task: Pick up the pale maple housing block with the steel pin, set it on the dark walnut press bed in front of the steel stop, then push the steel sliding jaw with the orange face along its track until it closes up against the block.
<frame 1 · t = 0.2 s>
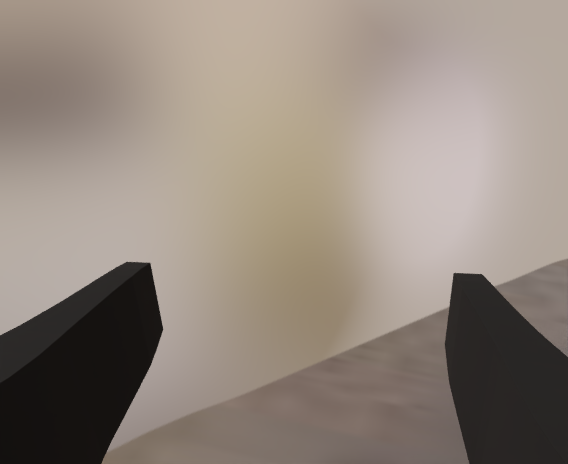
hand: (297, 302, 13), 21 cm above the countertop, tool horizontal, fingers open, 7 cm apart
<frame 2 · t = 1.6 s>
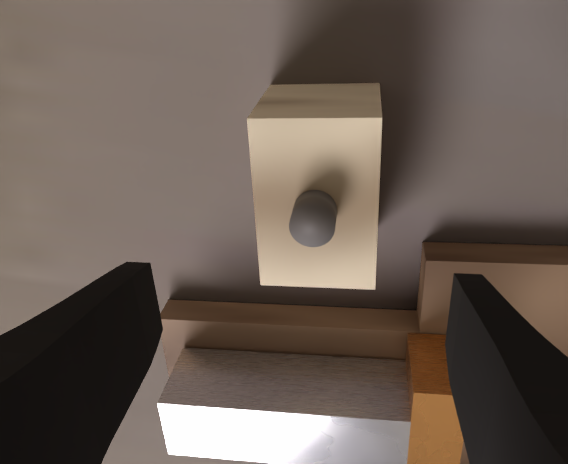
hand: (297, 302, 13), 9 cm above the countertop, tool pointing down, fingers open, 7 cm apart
housing: (325, 160, 21), on the countertop
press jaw: (310, 408, 23), point 3 cm above the countertop, slide at 0.0 cm
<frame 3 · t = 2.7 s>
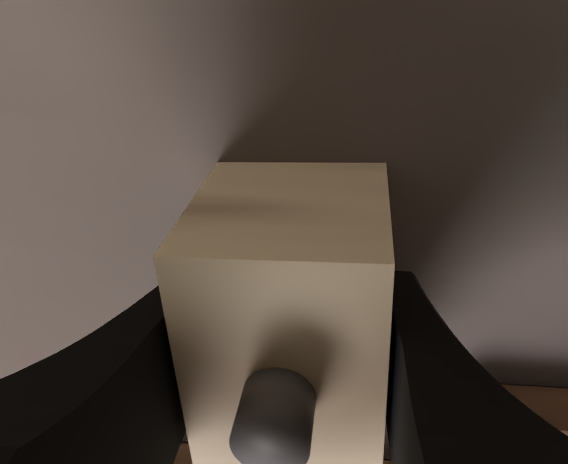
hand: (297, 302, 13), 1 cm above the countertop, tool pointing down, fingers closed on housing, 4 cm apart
housing: (304, 268, 14), on the countertop, touching gripper
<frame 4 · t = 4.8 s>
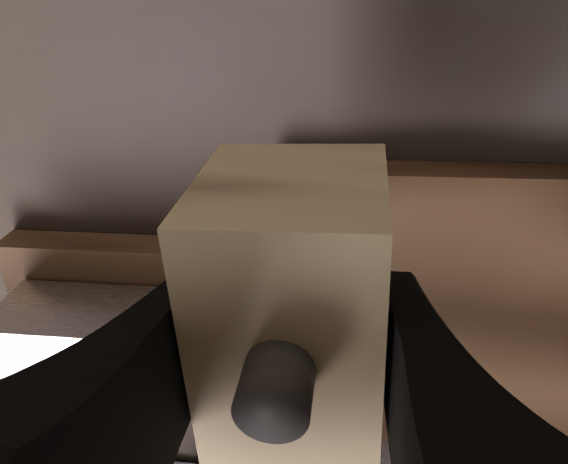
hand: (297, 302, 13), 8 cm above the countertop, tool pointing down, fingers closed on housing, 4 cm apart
press bed: (492, 311, 22), on the countertop
housing: (304, 251, 14), point 6 cm above the countertop, touching gripper
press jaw: (150, 342, 21), point 3 cm above the countertop, slide at 0.0 cm
when the fingers open (3 cm above the countertop, at t = 6.8 s): housing stays where it is, resting on press bed.
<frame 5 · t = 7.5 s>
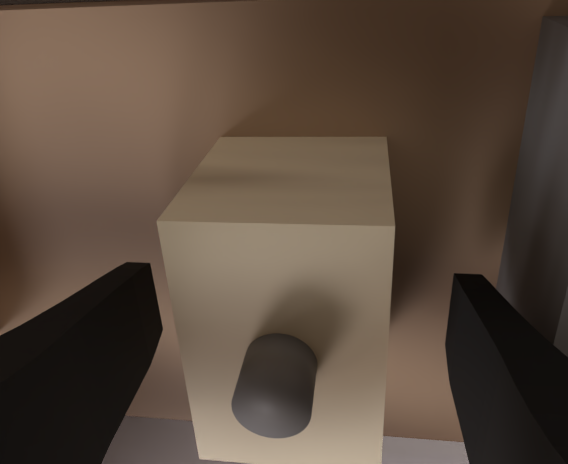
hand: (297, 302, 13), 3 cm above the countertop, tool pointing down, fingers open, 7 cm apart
press bed: (228, 232, 16), on the countertop
housing: (305, 245, 14), point 1 cm above the countertop, touching press bed
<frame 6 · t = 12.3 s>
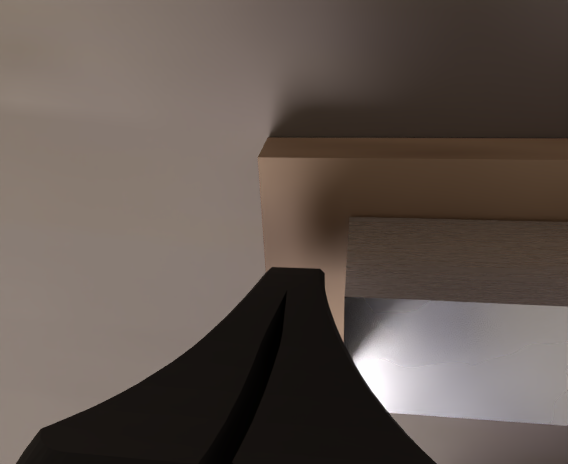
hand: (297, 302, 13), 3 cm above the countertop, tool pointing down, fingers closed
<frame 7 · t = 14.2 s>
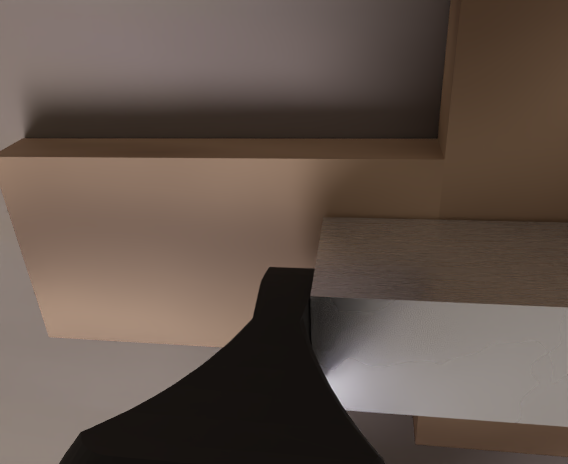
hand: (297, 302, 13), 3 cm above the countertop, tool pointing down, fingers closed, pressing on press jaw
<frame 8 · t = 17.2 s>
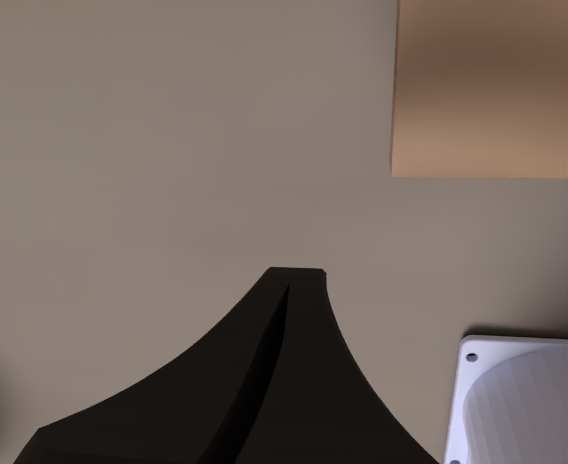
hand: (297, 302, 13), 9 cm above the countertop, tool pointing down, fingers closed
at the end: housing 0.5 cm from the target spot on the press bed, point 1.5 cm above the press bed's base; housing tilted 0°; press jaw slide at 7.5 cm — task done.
